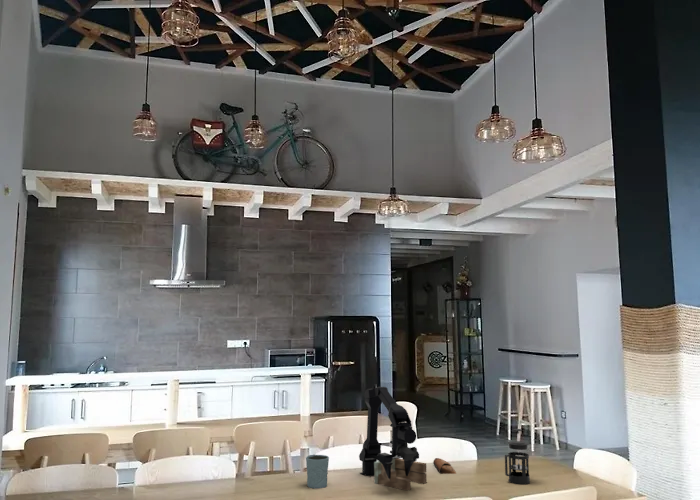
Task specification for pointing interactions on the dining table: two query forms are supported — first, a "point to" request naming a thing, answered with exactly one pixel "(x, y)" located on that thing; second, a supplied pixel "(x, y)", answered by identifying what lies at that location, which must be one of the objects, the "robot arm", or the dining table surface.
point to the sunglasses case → (443, 466)
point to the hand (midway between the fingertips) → (398, 477)
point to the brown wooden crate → (401, 474)
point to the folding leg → (393, 474)
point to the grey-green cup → (317, 470)
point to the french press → (514, 476)
